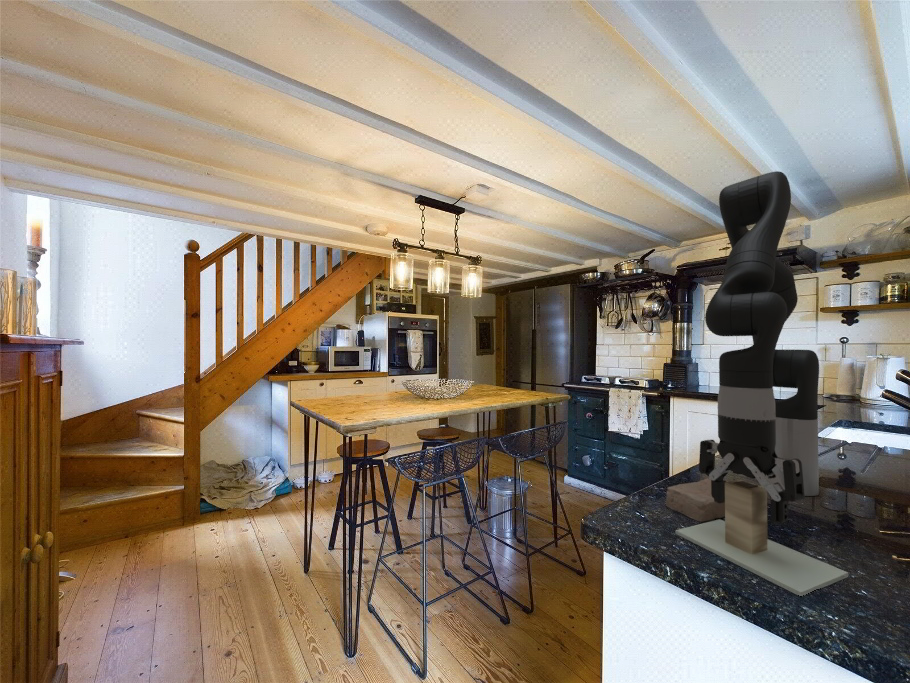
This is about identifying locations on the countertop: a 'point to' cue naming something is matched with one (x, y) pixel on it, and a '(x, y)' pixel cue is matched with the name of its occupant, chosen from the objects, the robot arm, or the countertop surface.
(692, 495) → the brick
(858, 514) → the countertop surface
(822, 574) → the flat grey rectangular slab
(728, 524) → the beech block
